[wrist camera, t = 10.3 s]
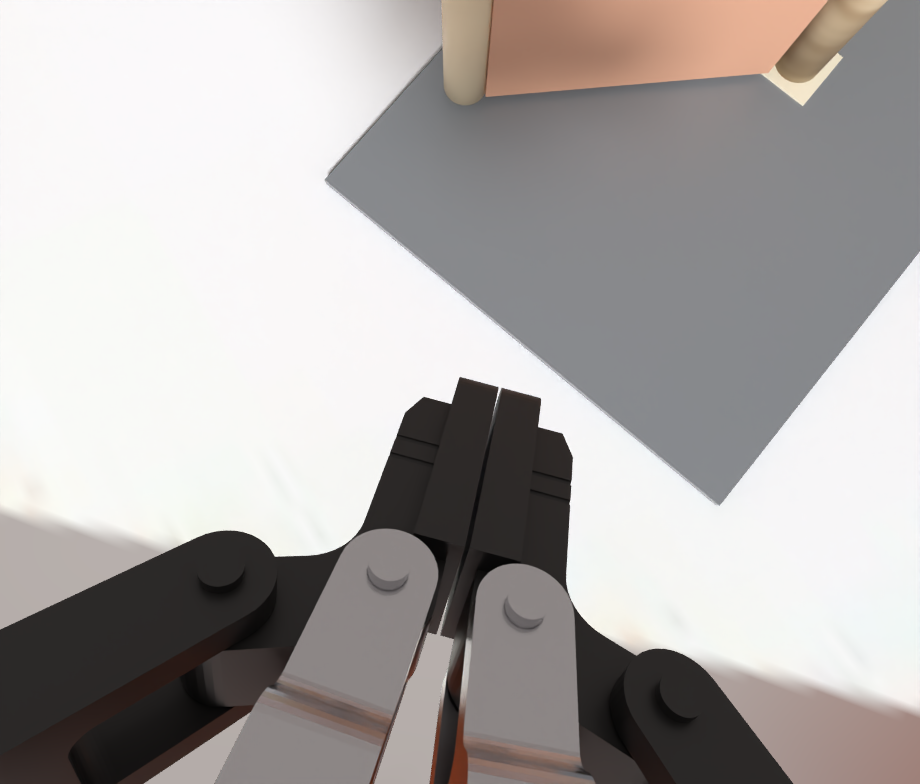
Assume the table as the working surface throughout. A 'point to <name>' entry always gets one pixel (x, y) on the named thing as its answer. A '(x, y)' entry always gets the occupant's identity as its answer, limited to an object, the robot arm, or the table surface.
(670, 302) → the card
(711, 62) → the swing fence panel
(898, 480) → the table surface
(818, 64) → the fence post section
